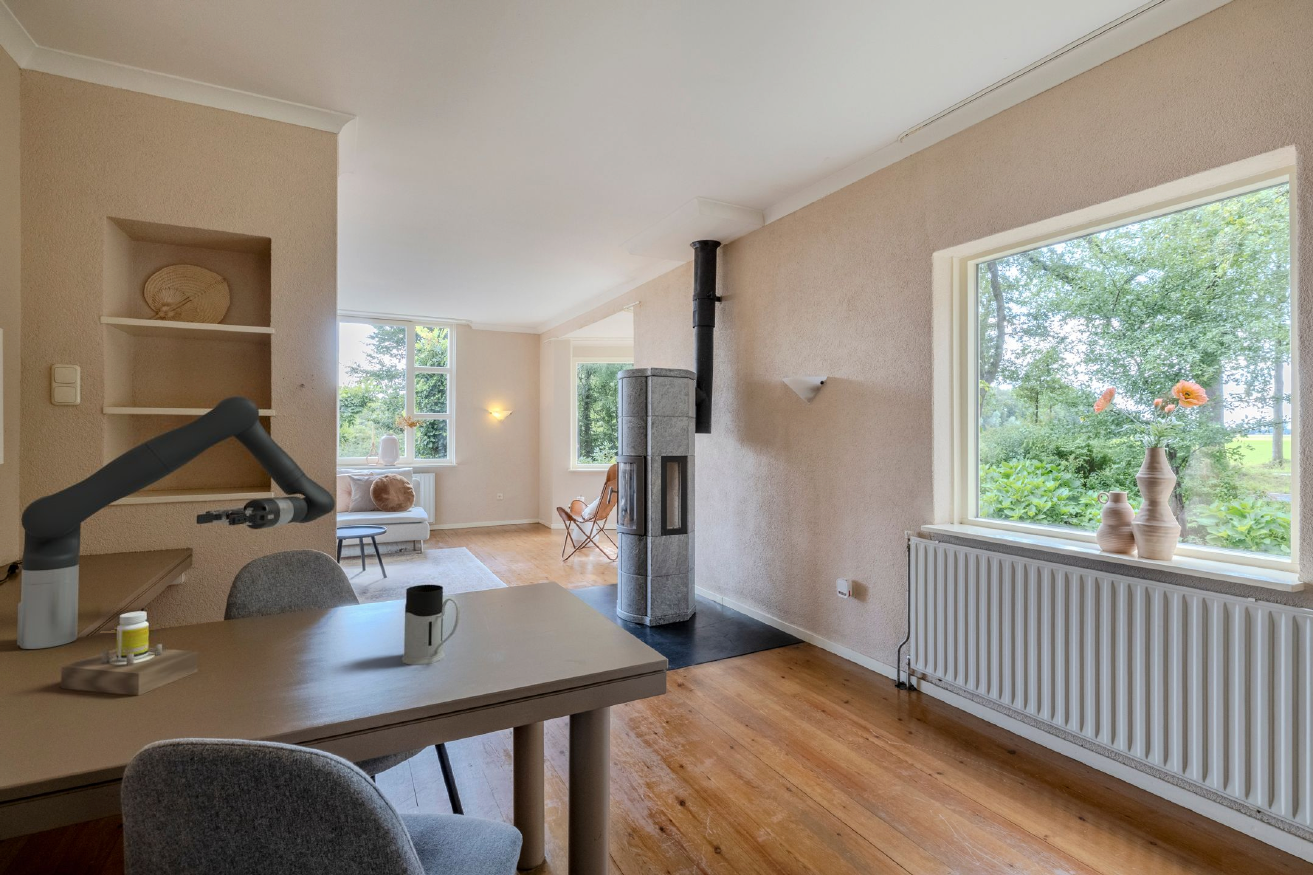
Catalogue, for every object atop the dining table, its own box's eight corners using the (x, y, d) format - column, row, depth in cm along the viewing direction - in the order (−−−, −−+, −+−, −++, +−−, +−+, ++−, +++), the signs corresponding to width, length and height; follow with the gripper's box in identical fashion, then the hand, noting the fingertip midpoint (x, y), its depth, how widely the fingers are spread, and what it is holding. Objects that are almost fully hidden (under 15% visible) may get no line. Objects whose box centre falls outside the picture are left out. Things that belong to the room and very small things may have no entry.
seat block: (61, 687, 115) (61, 655, 116) (125, 665, 127) (126, 636, 127) (138, 695, 113) (139, 662, 113) (197, 671, 125) (198, 641, 125)
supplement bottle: (154, 654, 122) (155, 611, 122) (128, 662, 117) (129, 618, 117) (136, 652, 123) (137, 609, 123) (109, 660, 119) (110, 615, 119)
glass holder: (424, 648, 141) (425, 582, 141) (472, 658, 134) (473, 589, 134) (392, 660, 133) (393, 590, 133) (442, 672, 126) (443, 598, 127)
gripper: (244, 497, 160) (187, 502, 144) (293, 498, 158) (241, 504, 142) (244, 526, 160) (186, 535, 144) (293, 528, 158) (240, 537, 142)
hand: (213, 520), depth 143 cm, fingers open, 8 cm apart
